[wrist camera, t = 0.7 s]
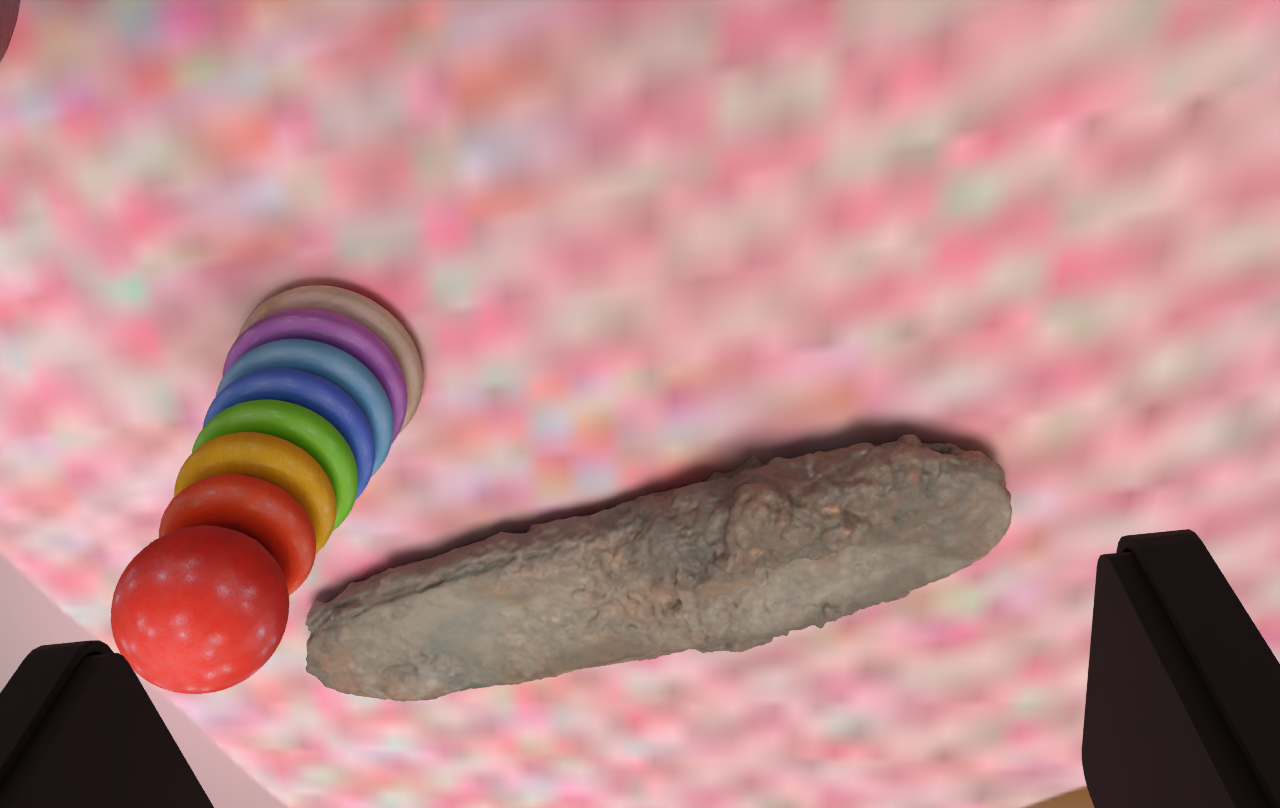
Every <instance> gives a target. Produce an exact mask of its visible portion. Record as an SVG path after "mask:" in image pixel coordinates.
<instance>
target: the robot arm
mask: <svg viewBox="0 0 1280 808" xmlns="http://www.w3.org/2000/svg"><path fill="white" fill-rule="evenodd" d="M1082 764H1083V770H1084V776H1085V780H1086V784H1087V788H1088V791H1089V794H1090V797H1091V799H1092V802H1093V804H1094V807H1095V808H1280V664H1279V662H1278V661H1277V659H1276V657H1275V656H1274V654H1273V653H1272V651H1271V649H1270V648H1269V646H1268V645H1267V643H1266V642H1265V640H1264V638H1263V637H1262V635H1261V634H1260V632H1259V631H1258V629H1257V627H1256V626H1255V624H1254V623H1253V621H1252V619H1251V618H1250V616H1249V615H1248V613H1247V612H1246V610H1245V608H1244V607H1243V605H1242V604H1241V602H1240V601H1239V599H1238V597H1237V596H1236V594H1235V593H1234V591H1233V589H1232V588H1231V586H1230V585H1229V583H1228V582H1227V580H1226V578H1225V577H1224V575H1223V574H1222V572H1221V570H1220V569H1219V567H1218V566H1217V564H1216V563H1215V561H1214V559H1213V558H1212V556H1211V555H1210V553H1209V552H1208V550H1207V548H1206V547H1205V545H1204V544H1203V542H1202V540H1201V539H1200V538H1199V537H1198V536H1197V534H1196V533H1195V532H1193V531H1191V530H1189V529H1187V530H1177V531H1167V532H1157V533H1147V534H1138V535H1128V536H1123V537H1121V539H1120V541H1119V542H1118V547H1117V552H1116V553H1113V554H1103V555H1100V557H1099V559H1098V564H1097V572H1096V584H1095V596H1094V608H1093V621H1092V633H1091V645H1090V657H1089V669H1088V681H1087V693H1086V705H1085V717H1084V729H1083V742H1082ZM0 808H214V807H213V805H212V803H211V802H210V800H209V798H208V797H207V795H206V793H205V791H204V790H203V788H202V786H201V785H200V783H199V781H198V780H197V778H196V776H195V774H194V773H193V771H192V769H191V768H190V766H189V764H188V763H187V761H186V759H185V758H184V756H183V754H182V753H181V751H180V749H179V747H178V746H177V744H176V742H175V741H174V739H173V737H172V735H171V734H170V732H169V730H168V729H167V727H166V725H165V723H164V722H163V720H162V718H161V717H160V715H159V713H158V712H157V710H156V708H155V706H154V705H153V703H152V701H151V700H150V698H149V696H148V694H147V693H146V691H145V690H144V688H143V686H142V684H141V683H140V681H139V679H138V677H137V676H136V674H135V672H134V671H133V669H132V667H131V666H130V664H129V662H128V661H127V660H126V658H125V657H124V656H122V655H121V654H119V653H114V652H113V651H112V650H111V649H110V647H109V646H108V645H107V644H105V643H103V642H101V641H82V642H73V643H62V644H52V645H43V646H40V647H38V648H36V649H34V650H32V651H31V653H29V654H28V655H27V657H26V658H25V659H24V660H23V662H22V663H21V664H20V666H19V667H18V669H17V670H16V672H15V673H14V674H13V676H12V677H11V679H10V680H9V682H8V683H7V684H6V686H5V688H4V689H3V690H2V692H1V693H0Z"/></svg>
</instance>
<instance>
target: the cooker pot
mask: <svg viewBox="0 0 1280 808" xmlns="http://www.w3.org/2000/svg"><path fill="white" fill-rule="evenodd" d="M19 3H20V0H0V61H1V59H2V57H3V56H4V54H5V52H6V50H7V48H8V45H9V42H10V39H11V36H12V33H13V30H14V27H15V24H16V21H17V15H18V9H19Z"/></svg>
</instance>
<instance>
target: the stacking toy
mask: <svg viewBox="0 0 1280 808" xmlns="http://www.w3.org/2000/svg"><path fill="white" fill-rule="evenodd" d="M422 388H423V372H422V366H421V361H420V357H419V354H418V351H417V349H416V346H415V344H414V342H413V341H412V339H411V337H410V335H409V334H408V332H407V331H406V330H405V328H404V327H403V326H402V325H401V323H400V322H399V321H398V320H397V319H396V318H395V317H394V316H393V315H392V314H391V313H390V312H388V311H387V310H386V309H385V308H383V307H382V306H380V305H379V304H377V303H376V302H374V301H373V300H371V299H369V298H367V297H365V296H363V295H361V294H358V293H356V292H353V291H350V290H347V289H343V288H339V287H334V286H326V285H312V286H302V287H297V288H294V289H290V290H287V291H284V292H281V293H279V294H277V295H275V296H273V297H271V298H270V299H268V300H267V301H265V302H263V303H262V304H261V305H260V306H259V307H257V308H256V309H255V311H254V312H253V313H252V314H251V315H250V316H249V317H248V319H247V320H246V322H245V324H244V325H243V327H242V329H241V331H240V334H239V337H238V338H237V340H236V341H235V343H234V344H233V346H232V347H231V349H230V351H229V353H228V355H227V358H226V361H225V365H224V370H223V378H222V380H221V382H220V384H219V387H218V390H217V393H216V398H215V399H214V400H213V402H212V404H211V406H210V407H209V409H208V412H207V414H206V417H205V420H204V425H203V429H202V431H201V432H200V434H199V435H198V437H197V439H196V441H195V444H194V446H193V450H192V454H191V455H190V456H189V457H188V459H187V460H186V461H185V463H184V464H183V466H182V468H181V469H180V472H179V474H178V477H177V480H176V484H175V492H174V498H173V499H172V501H171V502H170V504H169V505H168V507H167V509H166V510H165V512H164V514H163V517H162V519H161V524H160V529H159V538H158V539H156V540H155V541H153V542H151V543H150V544H149V545H148V546H147V547H145V548H144V549H143V550H142V551H141V552H140V553H139V554H137V555H136V556H135V557H134V558H133V560H132V561H131V562H130V563H129V564H128V566H127V567H126V569H125V570H124V572H123V574H122V575H121V577H120V579H119V581H118V584H117V586H116V589H115V592H114V596H113V601H112V608H111V626H112V631H113V636H114V639H115V642H116V645H117V647H118V649H119V651H120V653H121V655H122V656H124V657H125V658H126V660H127V661H128V662H129V664H130V666H131V667H132V669H133V670H134V671H135V672H136V673H137V674H139V675H140V676H141V677H143V678H144V679H145V680H147V681H148V682H150V683H152V684H154V685H156V686H158V687H160V688H163V689H166V690H169V691H173V692H178V693H187V694H202V693H210V692H216V691H220V690H224V689H227V688H229V687H232V686H234V685H236V684H238V683H240V682H242V681H244V680H246V679H247V678H249V677H250V676H251V675H253V674H254V673H255V672H256V671H257V670H258V669H260V668H261V667H262V666H263V665H264V664H265V663H266V662H267V661H268V659H269V658H270V657H271V656H272V654H273V653H274V652H275V650H276V648H277V647H278V645H279V643H280V641H281V639H282V636H283V634H284V632H285V628H286V624H287V620H288V613H289V595H290V594H292V593H293V592H294V591H296V590H297V589H298V588H299V587H300V585H301V584H302V583H303V582H304V581H305V580H306V578H307V577H308V575H309V573H310V571H311V569H312V566H313V563H314V560H315V555H316V553H318V551H319V550H320V549H321V548H322V547H323V546H324V545H325V543H326V542H327V540H328V539H329V537H330V535H331V533H332V531H333V530H335V529H336V528H337V527H338V526H339V525H340V524H341V523H342V522H343V521H344V520H345V518H346V517H347V516H348V514H349V512H350V511H351V509H352V507H353V504H354V502H355V500H356V499H357V498H358V497H359V496H360V494H361V493H362V492H363V490H364V489H365V487H366V486H367V484H368V482H369V480H370V477H372V476H373V475H374V474H375V473H376V471H377V470H378V469H379V468H380V467H381V465H382V464H383V462H384V461H385V459H386V457H387V455H388V453H389V450H390V447H391V444H392V443H393V442H394V440H395V439H396V437H397V435H398V434H399V433H400V432H401V431H402V430H403V429H404V428H405V427H406V426H407V425H408V423H409V422H410V421H411V419H412V417H413V416H414V414H415V412H416V410H417V407H418V405H419V402H420V399H421V394H422Z"/></svg>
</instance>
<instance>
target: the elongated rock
mask: <svg viewBox="0 0 1280 808" xmlns="http://www.w3.org/2000/svg"><path fill="white" fill-rule="evenodd" d="M1010 500H1011V494H1010V492H1009V491H1008V490H1007V489H1006V483H1005V474H1004V470H1003V468H1002V467H1001V466H1000V465H999V464H997V463H995V462H994V461H993V460H992V459H990V458H988V457H987V456H986V455H985V454H983V453H982V452H980V451H973V450H968V451H965V450H961V449H959V448H958V447H957V446H956V445H954V444H951V443H946V444H941V443H930V444H927V443H921V441H920V440H919V439H918V438H917V436H916V435H911V434H908V435H903V436H901V437H899V438H898V440H897V441H896V442H895V441H894V442H889V443H882V444H880V445H872V444H871V443H858V444H853V445H851V446H849V447H846V448H837V449H833V450H831V451H828V452H823V451H817V452H815V453H813V454H811V453H808V454H806V455H804V456H798V457H794V458H790V459H787V458H783V457H775V458H773V459H772V460H769V461H768V462H767V463H763V462H762V461H761V460H759V459H758V458H757V457H749V458H748V460H747V461H746V462H745V463H744V464H743V465H741V466H740V467H738V468H737V469H736V470H734V471H731V472H723V473H720V472H713V473H712V474H711V475H710V476H709V478H708V479H707V480H705V481H703V482H698V483H695V484H690V485H688V486H684V487H680V488H674V489H670V490H668V491H664V492H658V493H651V494H649V495H644V496H639V497H638V498H636V499H635V500H629V501H628V502H624V503H621V504H619V505H617V506H616V507H612V508H610V509H609V510H606V509H604V510H602V511H600V512H598V513H596V514H592V515H586V516H584V517H580V516H573V517H570V518H566V519H557V520H554V521H551V522H547V523H544V524H533V525H531V526H530V528H529V529H528V532H527V533H521V534H518V533H504V532H499V533H498V534H496V535H493V536H491V537H489V538H487V539H485V540H484V541H479V542H475V543H472V544H470V545H467V546H463V547H461V548H454V549H452V550H451V551H450V552H448V553H444V554H441V555H439V556H436V557H433V558H429V559H425V560H421V561H418V562H413V563H410V564H406V565H402V566H398V567H396V568H388V569H387V570H386V571H383V572H381V573H378V574H375V575H372V576H371V577H370V578H368V579H366V580H364V581H359V582H351V583H349V585H348V586H347V588H346V589H345V590H344V591H343V592H342V593H341V594H339V595H338V596H336V597H335V598H334V599H332V600H331V601H329V602H328V603H322V602H320V601H319V600H316V601H315V602H314V604H313V606H312V607H311V609H310V611H309V613H308V615H307V621H306V625H307V626H308V627H309V631H310V630H311V636H310V637H309V639H308V641H307V658H306V661H307V666H306V671H307V672H308V673H310V674H312V675H314V676H316V677H317V678H318V679H319V680H320V681H321V682H322V683H323V685H324V686H325V687H328V688H332V689H334V690H336V691H339V692H342V693H345V694H353V695H357V696H364V697H372V698H379V699H384V700H385V699H391V700H396V701H417V700H430V699H437V698H438V697H440V696H444V695H446V694H449V693H452V692H457V691H463V690H467V689H470V688H472V689H474V688H482V687H490V686H493V685H508V684H510V685H513V684H520V683H523V682H527V681H533V680H536V679H543V678H546V677H557V676H558V675H561V674H563V673H567V672H571V671H575V670H578V669H583V668H590V667H598V666H605V665H611V664H616V663H624V662H628V661H635V660H639V661H641V660H645V659H648V660H649V659H655V658H658V657H660V656H662V655H669V654H672V653H676V652H683V651H685V650H687V649H696V650H698V651H700V652H702V653H705V652H713V651H730V652H743V651H746V650H748V649H751V648H753V647H756V646H759V645H764V644H766V643H769V642H771V641H772V639H773V637H778V636H781V635H785V636H787V635H788V633H789V631H790V630H801V629H804V628H807V627H808V626H811V625H815V626H817V627H819V628H823V626H824V624H825V623H826V622H829V621H836V620H837V619H839V618H841V617H842V616H846V615H852V614H853V613H854V612H856V611H858V610H859V609H865V608H867V607H870V606H873V605H878V604H880V603H881V602H890V601H893V600H898V599H900V598H904V597H906V596H907V595H908V594H909V593H910V591H912V590H913V589H917V588H920V587H922V586H925V585H927V584H928V583H930V582H935V581H937V580H940V579H943V578H945V577H948V576H949V575H951V574H953V573H955V572H957V571H958V570H960V569H963V568H965V567H968V566H970V565H972V564H973V563H974V562H976V561H977V560H980V559H981V558H983V557H985V556H986V555H987V554H988V553H989V552H990V551H991V550H992V549H993V548H994V547H995V546H996V545H997V544H998V543H999V542H1000V540H1001V539H1002V537H1003V536H1004V535H1005V534H1006V532H1007V530H1008V528H1009V526H1010V523H1011V514H1012V507H1011V504H1010Z"/></svg>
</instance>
